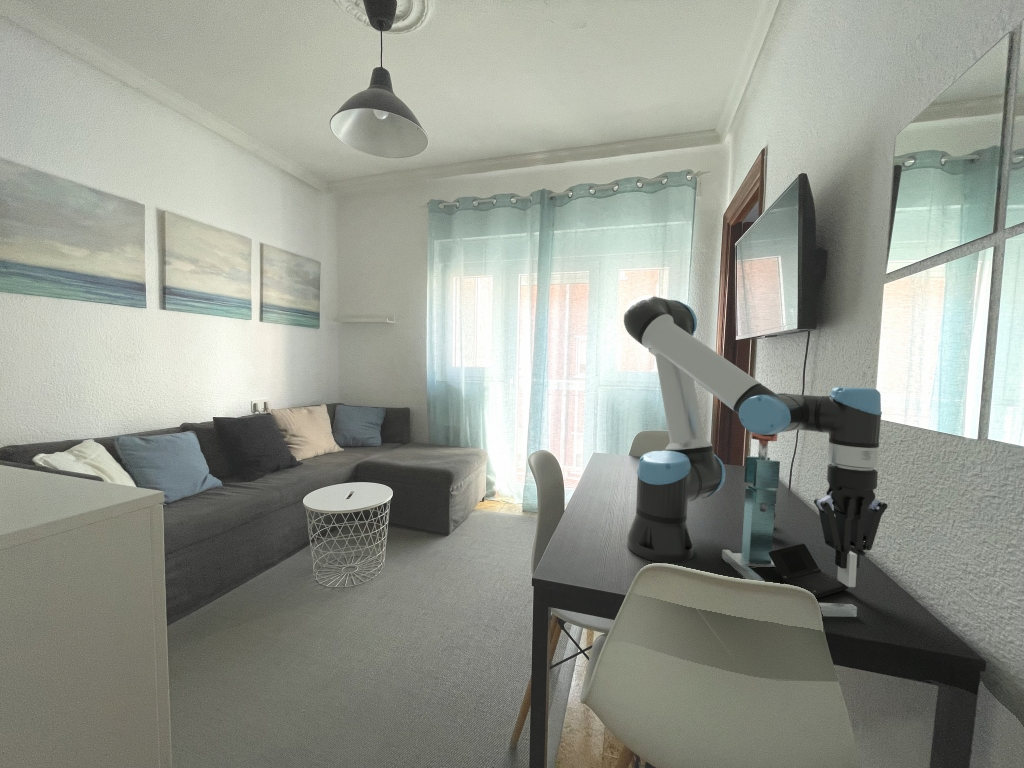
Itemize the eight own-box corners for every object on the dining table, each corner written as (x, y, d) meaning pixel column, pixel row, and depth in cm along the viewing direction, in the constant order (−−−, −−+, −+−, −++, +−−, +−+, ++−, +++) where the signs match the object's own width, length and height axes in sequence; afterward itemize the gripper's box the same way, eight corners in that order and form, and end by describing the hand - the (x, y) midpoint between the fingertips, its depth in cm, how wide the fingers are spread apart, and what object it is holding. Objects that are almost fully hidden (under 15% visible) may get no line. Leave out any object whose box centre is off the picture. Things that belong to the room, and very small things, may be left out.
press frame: (783, 615, 72) (792, 483, 71) (719, 555, 94) (725, 455, 93) (856, 618, 72) (866, 486, 71) (775, 557, 94) (781, 457, 93)
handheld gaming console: (805, 608, 78) (814, 597, 76) (760, 561, 86) (768, 551, 85) (842, 596, 81) (851, 585, 80) (796, 553, 90) (803, 542, 88)
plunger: (757, 467, 88) (759, 433, 88) (744, 462, 93) (746, 429, 93) (780, 468, 88) (782, 434, 88) (766, 463, 93) (768, 430, 93)
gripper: (834, 470, 75) (828, 593, 76) (903, 471, 75) (896, 594, 76) (805, 460, 82) (800, 573, 83) (867, 461, 82) (861, 574, 83)
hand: (846, 583), depth 80 cm, fingers closed
